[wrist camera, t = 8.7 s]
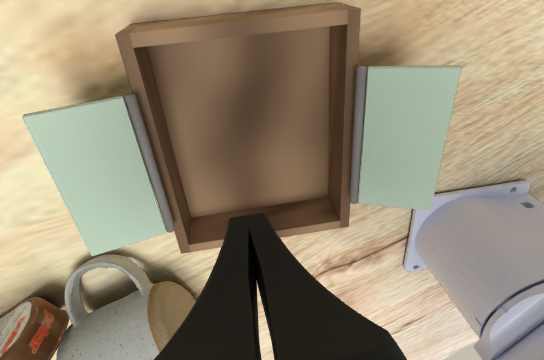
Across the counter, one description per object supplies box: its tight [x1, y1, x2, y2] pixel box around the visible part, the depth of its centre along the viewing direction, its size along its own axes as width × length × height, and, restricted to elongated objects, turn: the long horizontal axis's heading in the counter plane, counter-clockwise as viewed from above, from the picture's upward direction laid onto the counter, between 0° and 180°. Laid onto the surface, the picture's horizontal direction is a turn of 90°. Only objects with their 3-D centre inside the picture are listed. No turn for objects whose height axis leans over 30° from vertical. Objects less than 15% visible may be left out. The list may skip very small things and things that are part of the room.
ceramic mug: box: [57, 254, 196, 360], centre depth 25 cm, size 11×8×8 cm
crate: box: [115, 2, 361, 254], centre depth 20 cm, size 11×13×3 cm
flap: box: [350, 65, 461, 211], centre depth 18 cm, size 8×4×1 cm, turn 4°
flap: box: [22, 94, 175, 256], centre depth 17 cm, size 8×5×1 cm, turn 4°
